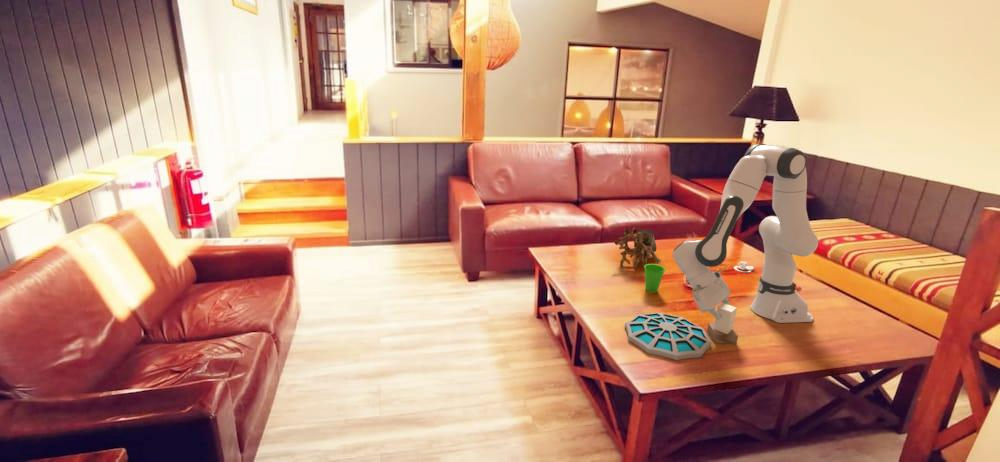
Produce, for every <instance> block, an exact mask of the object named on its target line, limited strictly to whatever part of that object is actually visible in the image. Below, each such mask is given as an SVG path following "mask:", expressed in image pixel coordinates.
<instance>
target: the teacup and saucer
mask: <svg viewBox="0 0 1000 462" xmlns="http://www.w3.org/2000/svg"><path fill="white" fill-rule="evenodd" d="M733 269H734V270H735V271H737V272H741V273H751V272H752V271H753V270H754V269H755V267H754V266H751V265H748V262H747V261H744V260H742V261H740V262H738V263H737V265H736V266H733ZM739 269H740V270H739ZM745 270H747V271H745Z"/></svg>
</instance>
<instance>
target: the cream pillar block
mask: <svg viewBox="0 0 1000 462" xmlns="http://www.w3.org/2000/svg"><path fill="white" fill-rule="evenodd" d="M737 310H738V307H736V306H734V305H732V304H730V305H728V304H725V303H722V302H721V304H720V305H719V306H718V305H717V308H716V311H717V312H718V313H720V314H721V316H722V318H721V319H720V320H716V318H715V317H714V318H715V320H714V322H713V323H714V329H715V330H718V331H720V332H723V333H725V334H728V333H729V332H730V331H731V330H732V329H734V325H735V318H736V314H737Z"/></svg>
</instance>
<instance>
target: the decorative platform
mask: <svg viewBox="0 0 1000 462" xmlns="http://www.w3.org/2000/svg"><path fill="white" fill-rule="evenodd" d="M624 328H625V330H626V333H627V334H626V335H627V340H628V342H631V344H634V345H636V346H638V348H640V349H642V350H643V351H644V352H645V353H646V354H649V355H653V356H654V355H655V356H659V357H664V358H668V359H670V360H674V361H679V360H685V359H686V360H687V359H697V358H702V357H703V355H704V354H705V352H707V350H709V349H710V348H711V347H712V344H713V341H711V338H709V337H708V334H707V333H706V330H705V328H703V327H701V326H699V325H697V324H695V323H693V322H692V321H691V320H688V319H686V318H685V317H683V316H682V317H681V316H676V315H670V314H666V313H663V312H653V313H652V312H651V313H642V314H641V313H636V315H635V316H634V317H632V318H631V319H630V320H628V321H626V322H625V323H624Z"/></svg>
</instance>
